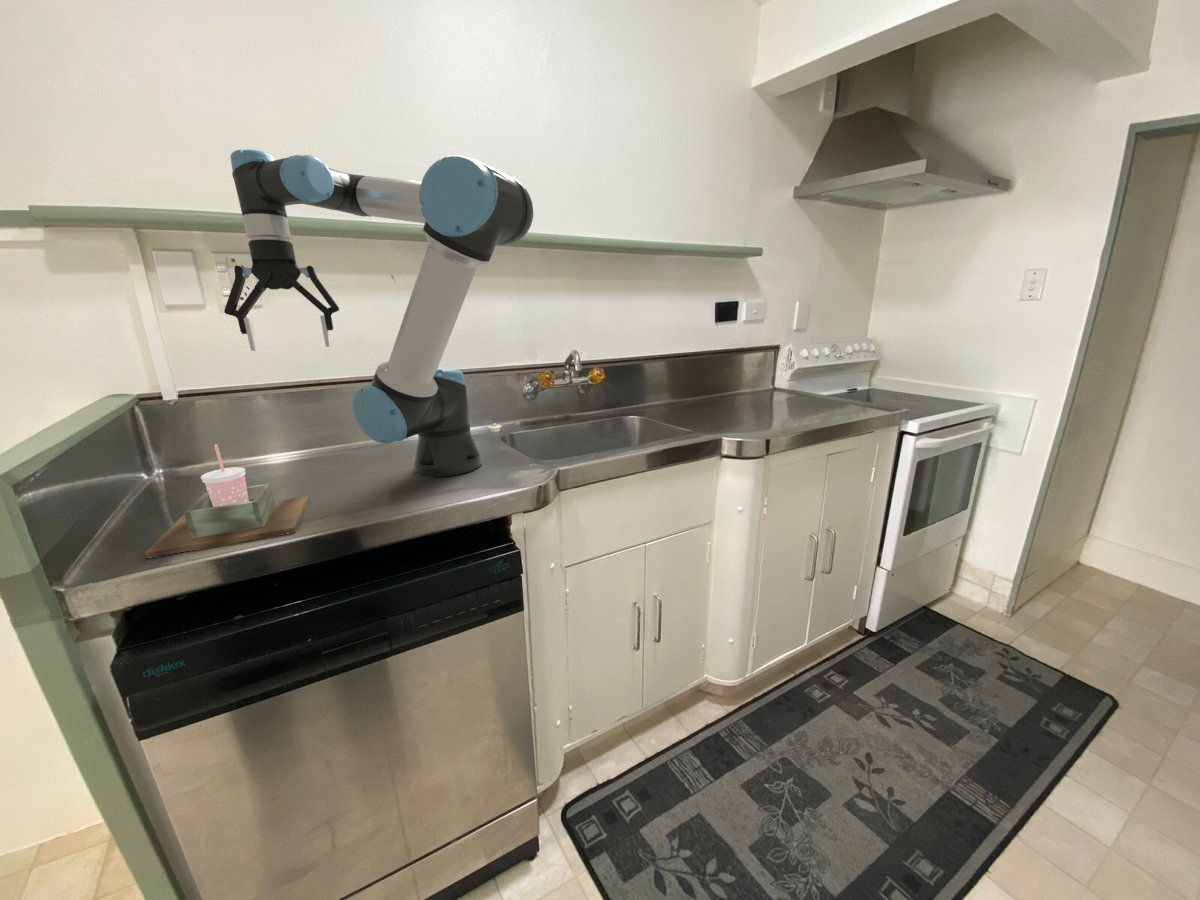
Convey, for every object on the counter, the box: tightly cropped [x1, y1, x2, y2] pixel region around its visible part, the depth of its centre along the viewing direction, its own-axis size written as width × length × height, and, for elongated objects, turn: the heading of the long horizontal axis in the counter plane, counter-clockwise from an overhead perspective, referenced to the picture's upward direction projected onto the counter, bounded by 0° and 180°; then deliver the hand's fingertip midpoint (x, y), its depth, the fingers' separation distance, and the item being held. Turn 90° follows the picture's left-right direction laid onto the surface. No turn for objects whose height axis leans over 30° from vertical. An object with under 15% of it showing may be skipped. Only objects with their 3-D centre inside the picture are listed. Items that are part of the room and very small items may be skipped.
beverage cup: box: [200, 443, 249, 507], centre depth 84 cm, size 6×6×14 cm
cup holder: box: [144, 483, 309, 558], centre depth 85 cm, size 20×16×6 cm
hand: (292, 348), depth 103 cm, fingers open, 13 cm apart
